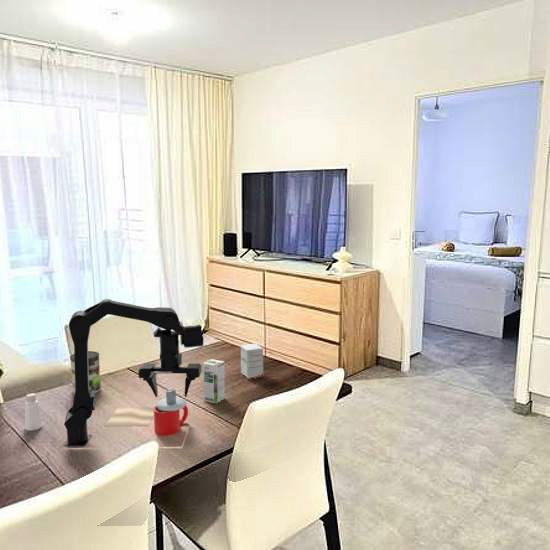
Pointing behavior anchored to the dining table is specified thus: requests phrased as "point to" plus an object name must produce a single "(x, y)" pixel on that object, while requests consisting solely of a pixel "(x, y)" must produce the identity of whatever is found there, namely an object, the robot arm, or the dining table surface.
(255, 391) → the dining table surface
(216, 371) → the syrup box
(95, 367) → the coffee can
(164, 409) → the lid
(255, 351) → the supplement box
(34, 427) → the pepper shaker
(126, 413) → the mat
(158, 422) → the mug
